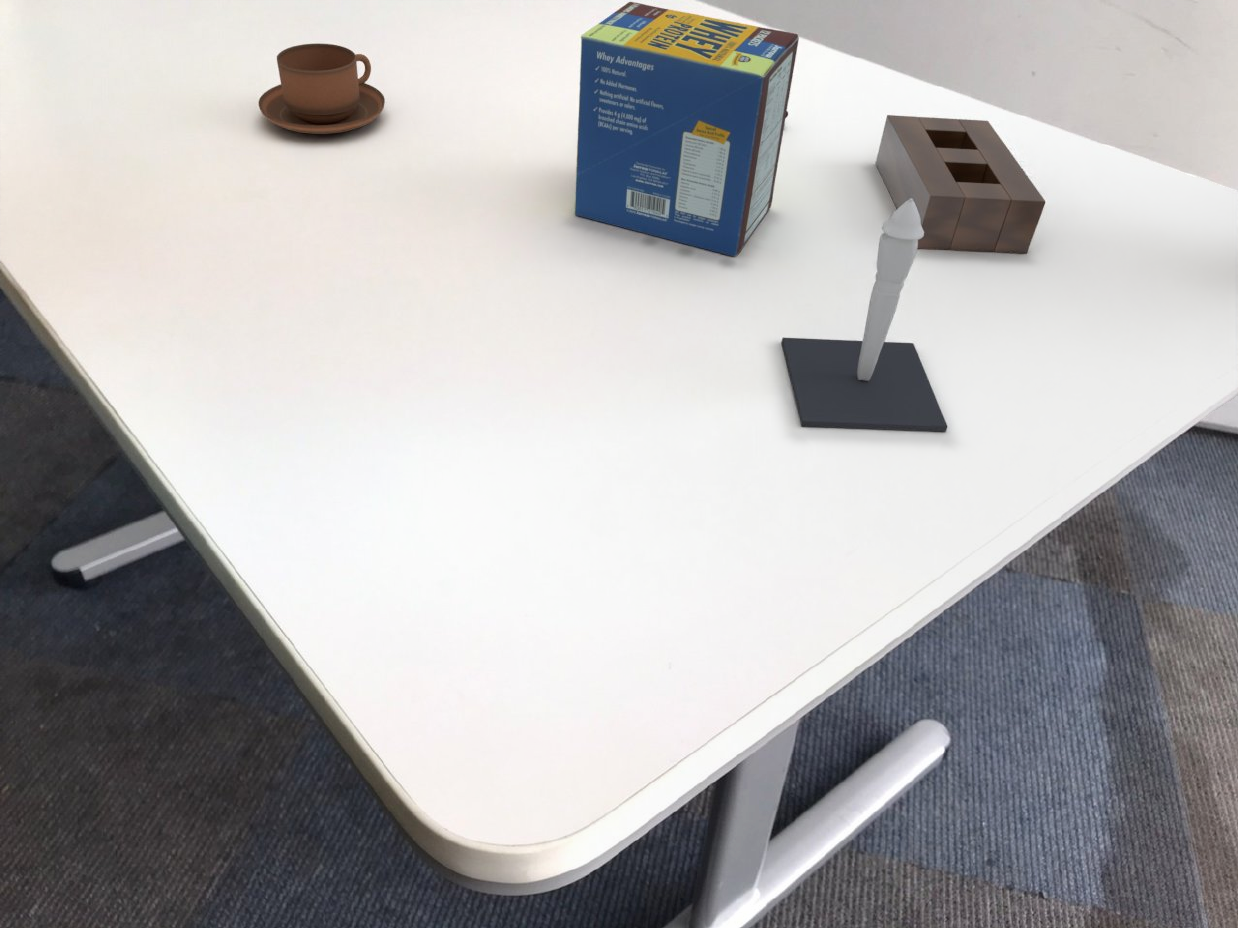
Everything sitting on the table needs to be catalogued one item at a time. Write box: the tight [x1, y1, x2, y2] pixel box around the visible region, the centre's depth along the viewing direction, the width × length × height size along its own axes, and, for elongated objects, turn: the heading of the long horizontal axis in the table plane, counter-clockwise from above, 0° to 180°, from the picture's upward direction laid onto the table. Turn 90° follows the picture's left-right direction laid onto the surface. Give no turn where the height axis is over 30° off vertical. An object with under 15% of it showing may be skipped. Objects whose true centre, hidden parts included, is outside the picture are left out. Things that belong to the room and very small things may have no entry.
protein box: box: [573, 1, 800, 257], centre depth 86 cm, size 10×15×16 cm
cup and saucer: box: [258, 43, 386, 135], centre depth 99 cm, size 12×12×6 cm
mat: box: [781, 337, 948, 433], centre depth 73 cm, size 10×10×1 cm
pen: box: [857, 198, 924, 381], centre depth 68 cm, size 2×3×14 cm
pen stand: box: [875, 114, 1046, 254], centre depth 94 cm, size 10×17×5 cm, turn 1°
